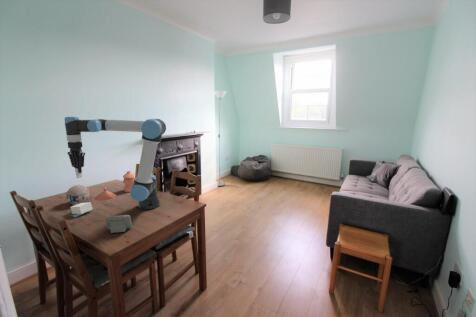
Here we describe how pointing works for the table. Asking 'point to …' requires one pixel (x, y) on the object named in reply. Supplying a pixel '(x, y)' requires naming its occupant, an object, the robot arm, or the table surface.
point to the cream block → (81, 208)
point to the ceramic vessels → (109, 195)
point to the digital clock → (118, 223)
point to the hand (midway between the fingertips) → (79, 177)
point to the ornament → (78, 194)
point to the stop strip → (80, 214)
